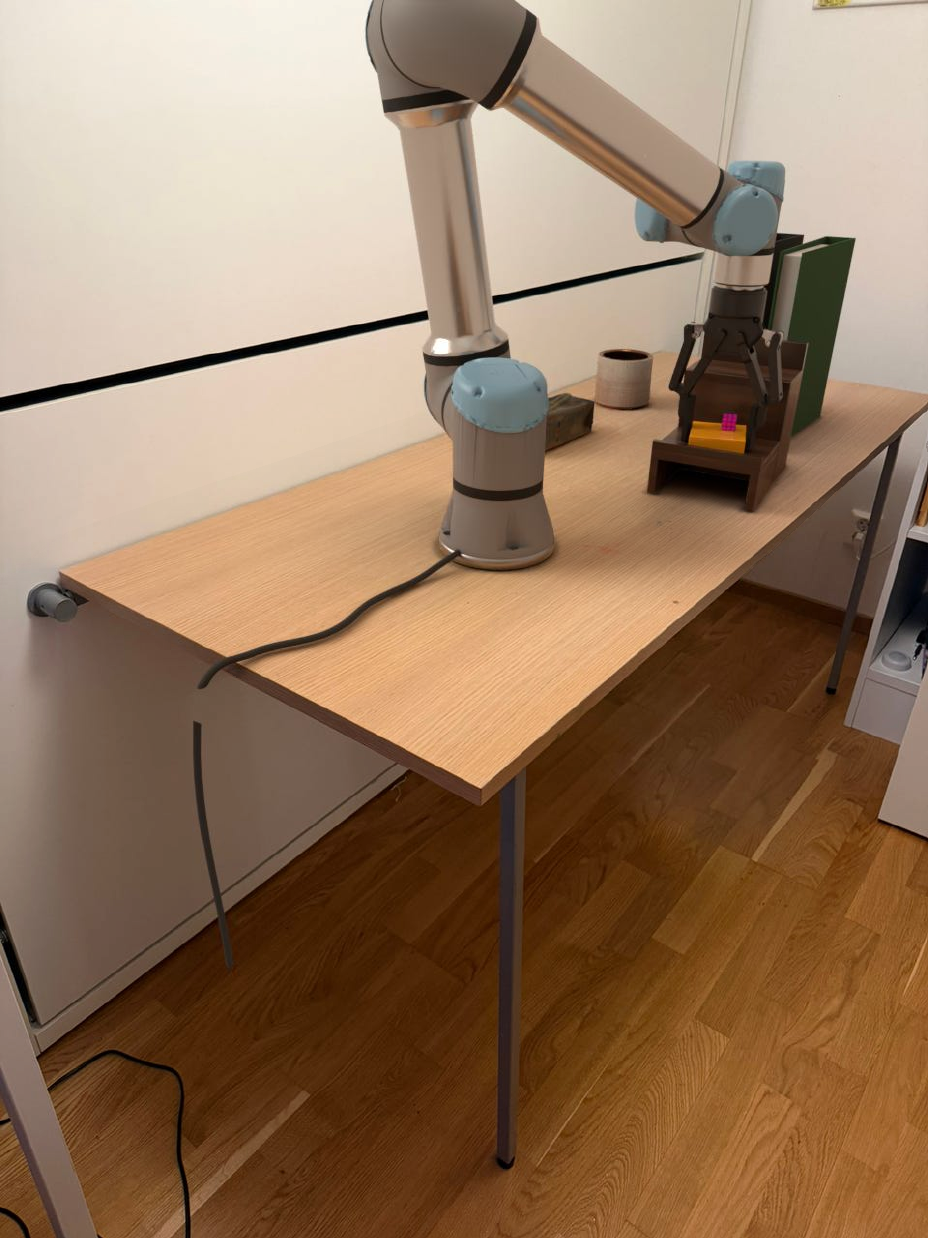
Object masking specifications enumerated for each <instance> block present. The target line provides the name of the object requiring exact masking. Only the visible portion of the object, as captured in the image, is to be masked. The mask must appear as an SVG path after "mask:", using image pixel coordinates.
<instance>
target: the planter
mask: <svg viewBox="0 0 928 1238" xmlns="http://www.w3.org/2000/svg"><path fill="white" fill-rule="evenodd" d="M653 362H654V355H653V354H652V353H650V352H648V351H644V350H639V349H631V348H613V349H605V350H602V351H600V352H598V357H597V366H596V367H597V370H596V377H595V378H596V379H595V389H594V392H595V393H594V401H595V402H596V404H598V405H600V406H602V407H604V408H609V409H614V410H615V409H616V410H636V409H640V408H643V407H645V406H647V405H648V404H649V402H650V396H651V385H652V374H653V372H652V371H653V364H654V363H653Z"/></svg>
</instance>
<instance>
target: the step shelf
mask: <svg viewBox="0 0 928 1238" xmlns="http://www.w3.org/2000/svg"><path fill="white" fill-rule="evenodd" d="M709 345H710V342H709V340H708V339H707V337H706V335H705V333H704V332H703V338H702V347H701V355H700V359H701V358H702V356H703V354H704V352H705V351H706V349H707V348H708V346H709ZM754 348H755V351H756V358H757V361H758V364H759V367H760V371H761V374H762V377H763V380H764V383H765V387H766V390H767V393H768V395H770V382H769V364H768V349H769V347H767V346H766V345H765V339H764V338H760V339H759V340H758V341H757V343H756V344H755V345H754ZM807 348H808V342H798V341H789V340H783V341H782V344H781V347H780V349H781V370H782V390H783V398H782V400H781V401H780V402H779V403H778V404H776V405H769V406H768V407H767V413H766V419H765V424H764V425H763V427H762V428H761V429H758V428H756V434H755V440H754V446H753V448H752V449H751V450H750V451H744V453H738V452H732V451H726V450H720V449H713V448H707V447H701V446H694V445H688V444H689V439H688V440H687V441H681V435H682V427H683V419H684V418H683V417H678V423H677V427H675V428H674V429H673V430H672V431H671V432H670V433H668V434H666V436H665V437H664V438H662V439H656V438H655V439H653V440H652V442H651V443H652V444H651V453H650V460H649V469H648V479H647V488H646V493H647V494H650V495H651V494H652V495H655V494H656V493H657V492H658V491H660V489H661V488H662V487H663V486H664V485H665V484H666V483H667V482H668V481H669V480H670V479H672V477H674V475H676V474H677V473H678V472H679V470H683V471H689V472H695V473H702V474H705V475H712V476H719V477H724V478H729V479H734V480H735V479H736V480H741V481H748V485H747V492H746V499H745V505H744V512H749V513H753V512H754V511H755V510H756V509H757V507H758V506H759V504H760V502H762V500H763V498H764V497H765V496H766V494H767V493H768V492H769V490H770V489H771V487H772V485H774V483H775V481H776V480H777V479H778V477H779V476H780V475H781V473H782V472H783V470H784V469H785V467H786V465H787V459H788V454H789V448H790V444H791V438H792V437H791V433H792V428H793V423H794V417H795V412H796V407H797V402H798V396H799V391H800V386H801V380H802V375H803V370H804V364H805V359H806V354H807ZM700 359H698V360H696V361H695V362H694V363H692V364H691V365H690V366H687V368H686V371H685V374H684V377H683V381H682V383H683V384H685V382H686V381H687V379H688V378H689V376H690V375H691V373H692V372H693V370H694V368H695V367H696V365H697V364H698V362H699V361H700ZM691 394H695V395H696V401H695V408H694V416H693V421H698V422H710V423H722V421H723V414H736V415H737V422H736V425H745V426H747V427H746V435H747V429H748V423H749V417H750V411H751V407H752V406H753V405H754V404H755V403H756V399H755V396H754V393H753V390H752V387H751V384H750V381H749V377H748V374H747V371H746V368H745V365H744V363H743V362H742V359H741V356H733V355H730V354H724V355H722V354H718V353H717V354H716V355H715V357H714V358H713V359H712V361H711V363H710V364H709V366H708V367H707V369H706V370H705V372H704V373H703V375H702V376H701V378H700V379H699V381H698V382H697V384H696V385H695V387H694V388H693V391H692V392H691ZM691 394H690V395H691ZM692 424H693V423H692Z"/></svg>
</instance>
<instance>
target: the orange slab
mask: <svg viewBox="0 0 928 1238" xmlns="http://www.w3.org/2000/svg"><path fill="white" fill-rule="evenodd" d="M736 422H737V415H736V414H723V421H722V423H710V422H698V421H693V424H692V428H691V432H690V436H689V444H688V445H694V446H701V447H707V448H713V449H720V450H726V451H732V452H738V453H744V449H745V443H746V427H747V426H745V425H736Z"/></svg>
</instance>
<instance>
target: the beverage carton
mask: <svg viewBox="0 0 928 1238" xmlns="http://www.w3.org/2000/svg"><path fill="white" fill-rule="evenodd" d="M548 398H549V399H548V401H549V408H548V412H547V425H546V443H545V451H548V450H551V449H552V448H555V447H558V446H560V445H562V444H565V443H567V442H570V441H572V440H575V439H576V438H579V437H582V436H585V435H586V434H589V433H591V432H592V430H593V424H594V418H595V417H594V415H595V414H594V413H595V402H596V401H595V400H592V399H587V398H583V397H579V396H574V395H572V394H571V393H570V392H564V393H563V392H562V393H559V394H556V395H553V396H551V397H548Z"/></svg>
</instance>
